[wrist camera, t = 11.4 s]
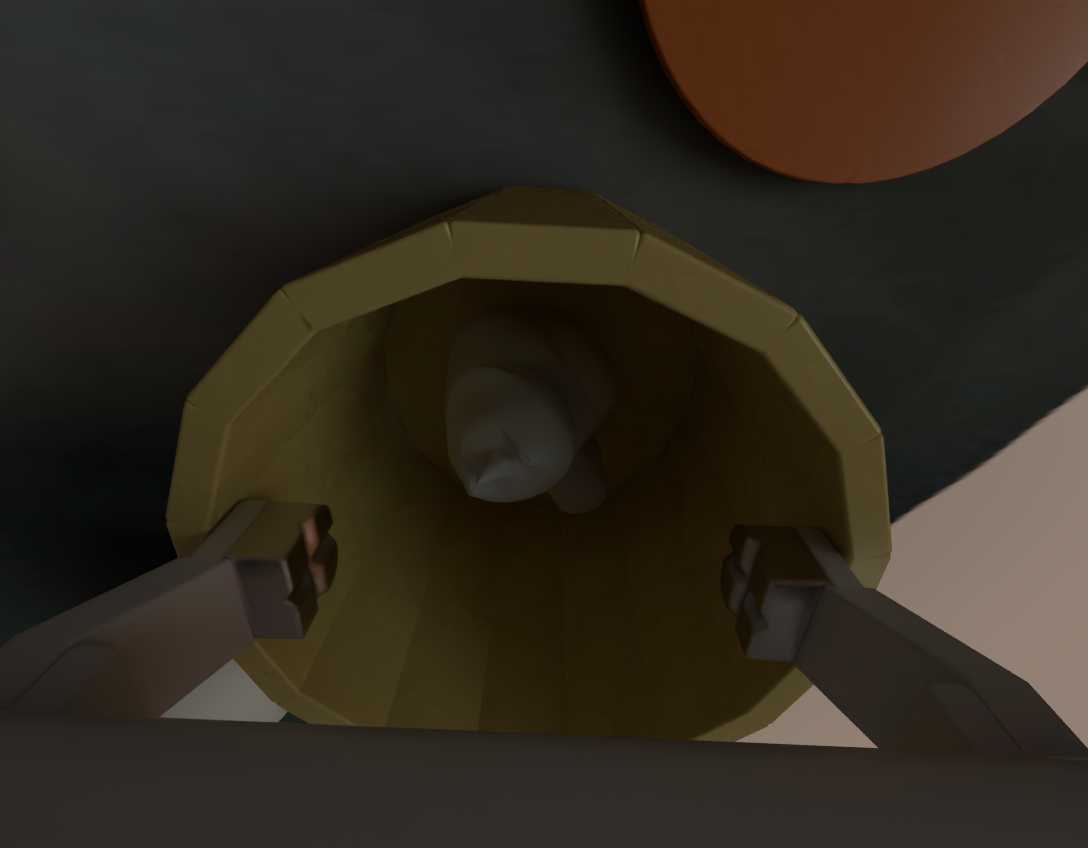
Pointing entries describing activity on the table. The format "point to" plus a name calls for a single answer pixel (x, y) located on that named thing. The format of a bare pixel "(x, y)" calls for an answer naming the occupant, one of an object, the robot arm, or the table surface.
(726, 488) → the tin
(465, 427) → the white lumpy rounded piece
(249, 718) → the white ball
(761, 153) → the tin lid
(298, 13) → the table surface
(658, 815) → the robot arm
